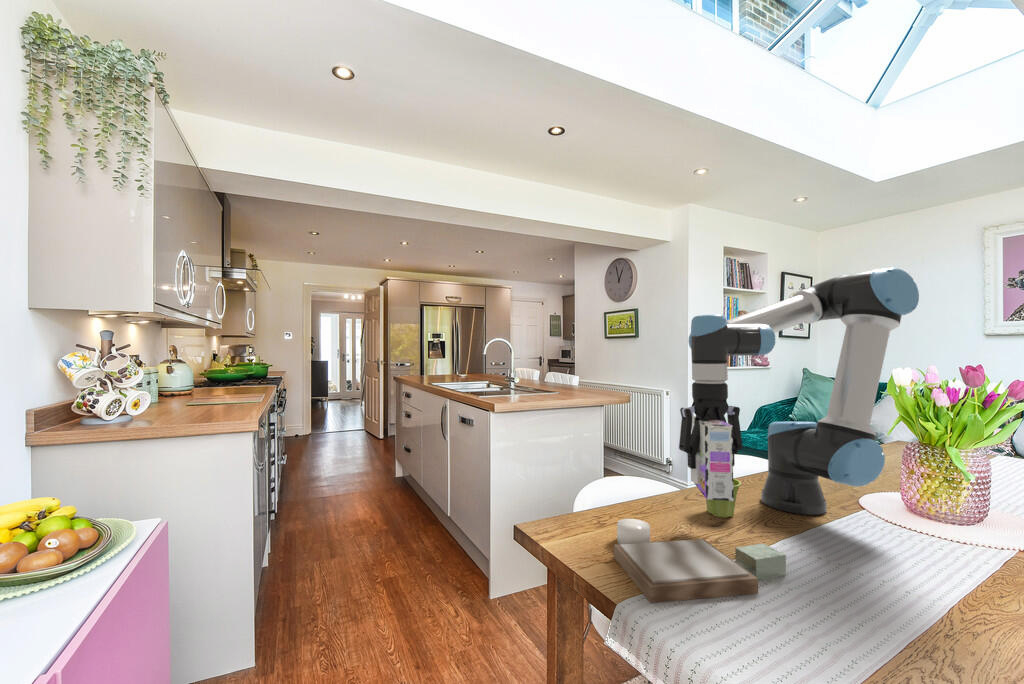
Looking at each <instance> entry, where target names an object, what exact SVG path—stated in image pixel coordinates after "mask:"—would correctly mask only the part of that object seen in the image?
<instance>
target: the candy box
mask: <svg viewBox="0 0 1024 684" xmlns="http://www.w3.org/2000/svg"><path fill="white" fill-rule="evenodd" d="M695 417H696V415H694V416H692V430H693V427H694V420H695ZM698 421H699V424H700V445H699V448H698V451H697V454H698V455H700V471H701V484H696V483H694V484H695V486H696V488H698V490H699V491H700V492H701V494H702V495H703V497H704V498H705V500H706V499H710V500H724V501H734V490H733V479H734V466H733V426H732V425H730V424H728V422H727V421H726V422H727V423H726V422H724V421H720V420H709V421H704V422H702V421H701V420H698ZM692 430H691V431H692Z"/></svg>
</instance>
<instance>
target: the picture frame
mask: <svg viewBox="0 0 1024 684" xmlns="http://www.w3.org/2000/svg"><path fill="white" fill-rule="evenodd" d="M613 558H614V559H615V561H616V562H617V563H618V565H620V567H621V568H622V569H623V571H624V572H625V573H626V574H627V576H628V577H629V578H630V579H631V581H632V582H633V583H634V584H635V586H636V587H637V588H638V590H640V591H641V593H642V594H643V595H644V596H645V598H646V599H647V600H648V602H649V603H650V604H653V603H664V602H675V601H686V600H687V601H688V600H700V599H710V598H711V597H713V598H721V597H720V596H724V597H734V596H735V597H736V596H743V595H758V594H759V580H758V578H757V577H755V576H754V575H753V574H751V573H750V572H749V571H747V570H746V569H744V568H743V567H742V566H740V565H739V564H738V563H736V562H735V560H733V559H732V558H730V557H729V556H728V555H727V554H725V553H724V552H722V551H721V550H720V549H718V548H717V547H715V546H714V545H713V544H712V543H710V542H708V541H707V540H706V539H704V538H698V539H681V540H679V539H678V540H666V541H665V540H664V541H650V542H647V543H631V544H618V543H617V544H613ZM711 599H712V598H711Z"/></svg>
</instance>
